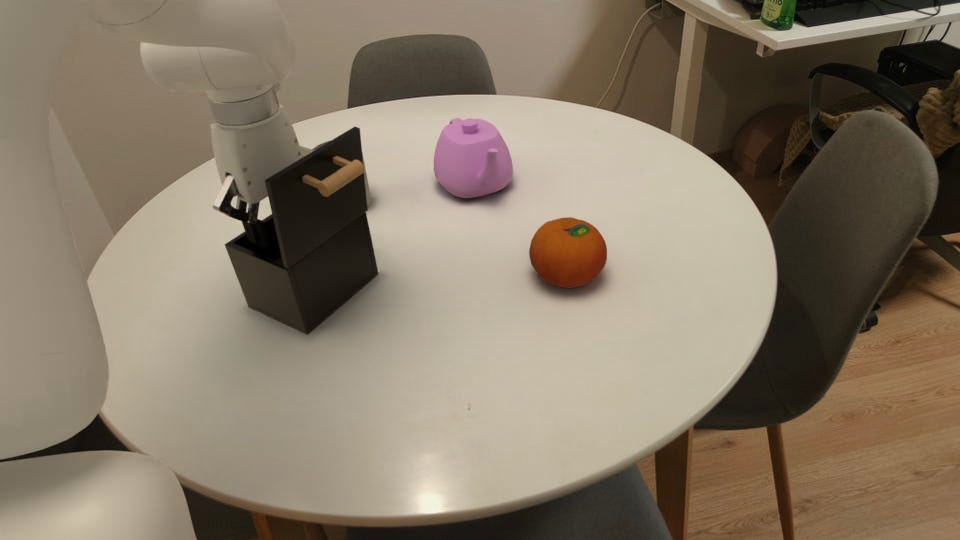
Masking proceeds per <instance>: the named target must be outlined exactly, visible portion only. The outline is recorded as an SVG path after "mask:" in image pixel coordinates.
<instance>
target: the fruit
mask: <svg viewBox="0 0 960 540" xmlns="http://www.w3.org/2000/svg"><path fill="white" fill-rule="evenodd" d="M528 255H529V261H530V264H531V266H532V268H533V269H534V271H535V272H536V274H537V276H538V277H540V279H542V280H543V281H544V282H546V283H548V284H550V285H554V286H558V287H562V288H568V289H571V288H572V289H573V288H576V287H581V286H584V285H586V284H588V283H591V282H592V281H594V280H595V279H596V278H597V277H598V276H599V275H600V274H601V272H602V271H603V269H604V268H605V267H606V264H607V260H608V247H607V244H606V241H605V239H604V237H603V235H602V233H600V231H599V229H598V228H597V227H595V226H594V225H593V224H592V223H590V222H587V221H585V220H583V219H579V218H575V217H570V216H569V217H560V218H556V219H552V220H549V221H547V222H545V223H543V224H542V225H541V226H540V227H538V229H537V230H536V232H535V233H534V234H533V236H532V239H531V241H530V246H529V250H528Z"/></svg>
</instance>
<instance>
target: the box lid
mask: <svg viewBox="0 0 960 540" xmlns="http://www.w3.org/2000/svg"><path fill="white" fill-rule="evenodd" d="M361 138H362V137H361V128H360V127H357V126H353V127H351V128H350V129H348V130H346V131H345V132H343V133H341V134H340V135H338V136H337V137H335V138H333V139H331V140H329V141H330V142H328V143H326V144H325V145H323V146H321V147H320V148H318V149H316V150H314V151H313V152H311V153H309V154H308V155H306V156H304V157H303V158H301V159H299V160H298V161H296V162H294V163H293V164H291V165H289V166H288V167H286V168H284V169H283V170H281V171H279V172H278V173H276V174H274V175H273V176H271V177H269V178H268V179H266V180H265V184H266V189H267V193H268V197H267V198H268V201H269V207H270V211H271V214H272V215H273V220H274V224H275V229H276V233H277V238H278V242H279V247H280V251H281V256H282V260H283V265H284V267H286V268H288V269H289V268H290V267H291V266H293V265H294V264H296V263H297V262H298V261H300V260H301V259H302V258H304V257H305V256H306V255H308V254H309V253H310V252H312V251H313V250H314V249H316V248H317V247H319V246H320V245H321V244H323V243H324V242H325V241H327V240H328V239H329V238H331V237H332V236H333V235H335V234H336V233H337V232H339V231H340V230H342V229H343V228H344V227H346V226H347V225H348V224H350V223H351V222H352V221H354V220H355V219H356V218H358V217H359V216H360V215H362V214H363V213H365V212H366V213H367V211H368V210H369V209H368V207H367V198H366V188H365V178H364V166H363V158H364V156H363V157H362V153H363V148H362V147H363V146H362V139H361Z"/></svg>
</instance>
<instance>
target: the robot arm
mask: <svg viewBox="0 0 960 540" xmlns="http://www.w3.org/2000/svg"><path fill="white" fill-rule="evenodd" d="M87 19H89V21H91V22H93V24H95V25H96V26H97V27H99V28H100V29H102V30H103V31H105V32H106V33H109V34H111V35H113V36H115V37H118V38H121V39H124V40H128V41H132V42H138V43H140V44H139V51H140V52H139V53H140V54H139V55H140V59H141V63H142V66H143V68H144V71H145V73H146V75H147V76H148V77H149V79H150V80H151V81H152V82H153V83H154V85H156V86H158V87H159V88H161V89H163V90H165V91H167V92H171V93H175V94H193V93H203V92H205V93H206V97H207V100H208V104H209V106H210V110H211V112H212V115H213V118H214V121H215V122H213V123H211V124H210V136H211V137H210V138H211V146H212V151H213V156H214V160H215V164H216V169H217V172H218V176H219V179H220V183H221V187H220V189H219V191H218V194H217V196H216V197H215V200H214V201H213V204H212V208H213V210H215V211H217V212H218V213H221V214H222V215H224V216H226V217H229V218H232V219H234V220H236V221H240V222H241V224H242V226H243V229H244V232H246V235H247V238H248V240H249V241H250V242H252V243H254V244H257V245H260V246H262V247H265V248H266V247H268V246H269V244H270V243H269V240H268V237H267V233H266V230H265V227H264V224H263V222H262V219H259V218H258V217H259V211H260V210H259V209H260V203H261V201H263V200H265V199H266V198H268V193H267V189H266V184H265V180H266V179H268V178H269V177H271V176H273V175H274V174H276V173H278V172H279V171H281V170H283V169H284V168H286V167H288V166H289V165H291V164H293V163H294V162H296V161H298V160H299V159H301V158H303V157H304V156H306V155H308V154H309V153H311V152H313V151H314V150H312V148H308V147H305V146H302V145H301V144H300V143H299V139H298V137H297V134H296V132H295V129H294V127H293V123H292V122H291V119H290V118H289V115H288V113H287V112H286V111H287V110H285V108H284V106H283V105H282V104H281V103H279V101H278V100H279V99H278V97H277V96H278V95H277V92H279V91H281V84H280V83H281V82H283V81H285V80H287V79H288V78H289V77H290V75H291V74H292V72H293V71H294V67H295V63H296V46H295V40H294V36H293V34H292V31H291V27H290V25H289V23H288V21H287V19H286V16H285V15H284V13H283V11H282V10H281V8H280V6H279V4H278V3H277V1H276V0H0V460H6V459H10V458H15V457H19V456H24V455H27V454H30V453H35V452H38V451H42V450H45V449H47V448H51V447H53V446H55V445H58V444H60V443H63V442H65V441H67V440H69V439H71V438H73V437H74V436H76V435H77V434H78V433H79V432H81V431H83V430H85V429H86V428H87V427H88V426H90V424H91V423H92V422H93V421H94V420H95V418H96V417H97V416H98V414H99V413H100V411H101V410H102V408H103V406H104V404H105V402H106V399H107V396H108V395H107V394H108V389H109V383H110V382H109V381H110V368H109V367H110V366H109V360H108V353H107V350H106V344H105V341H104V340H105V339H104V336H103V332H102V329H101V324H100V321H99V318H98V313H97V310H96V307H95V304H94V301H93V297H92V294H91V290H90V287H89V284H88V280H87V277H86V273H85V270H84V266H83V263H82V259H81V256H80V253H79V249H78V247H77V242H76V240H75V236H74V233H73V229H72V226H71V222H70V219H69V216H68V212H67V209H66V206H65V202H64V199H63V195H62V192H61V188H60V185H59V179H58V175H57V171H56V169H55V163H54V160H53V155H52V151H51V146H50V145H51V144H50V129H49V128H50V125H49V123H50V122H49V118H50V111H51V104H52V99H53V98H52V97H53V92H54V89H55V85H56V83H57V79H58V76H59V73H60V70H61V67H62V64H63V62H64V60H65V57H66V55H67V52H68V50H69V49H70V47H71V45H72V43H73V41H74V39H75V38H76V36H77V34H78V32H79V31H80V29H81V27H82V26H83V25H84V23H85V22H86V20H87ZM235 197H236V205H235V206H236V207H234V206H232V202H233V199H234V198H235ZM0 540H198V539H197V536H196V533H195V529H194V525H193V521H192V518H191V513H190V510H189V506H188V501H187V498H186V495H185V492H184V490H183V486H182V485H181V483H180V481H179V479H178V477H177V475H176V474H175V473H174V471H173V470H172V469H171V468H170V467H169V466H168V465H166V464H165V463H164V462H162V461H160V460H159V459H157V458H154V457H152V456H149V455H146V454H144V453H139V452H134V451H127V450H126V451H124V450H109V449H107V450H87V451H86V450H85V451H75V452H67V453H60V454H59V453H58V454H51V455H43V456H36V457H30V458H29V457H28V458H22V459H15V460H8V461H1V462H0Z"/></svg>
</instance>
